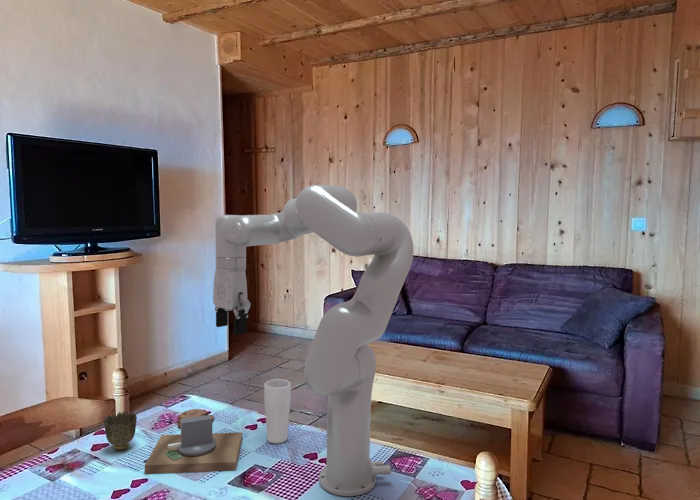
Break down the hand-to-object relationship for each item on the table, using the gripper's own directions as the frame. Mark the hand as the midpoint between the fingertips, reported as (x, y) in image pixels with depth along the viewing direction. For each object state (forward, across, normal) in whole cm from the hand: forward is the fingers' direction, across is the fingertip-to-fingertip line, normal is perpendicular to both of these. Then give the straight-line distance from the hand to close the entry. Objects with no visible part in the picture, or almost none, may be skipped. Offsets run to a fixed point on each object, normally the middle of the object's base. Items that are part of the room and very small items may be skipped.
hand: (231, 329), depth 131 cm
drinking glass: (+28, +9, +8) cm, 31 cm away
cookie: (+29, -14, -4) cm, 32 cm away
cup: (+28, -11, -24) cm, 39 cm away
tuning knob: (+26, +4, -12) cm, 29 cm away
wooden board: (+28, +4, -12) cm, 31 cm away
